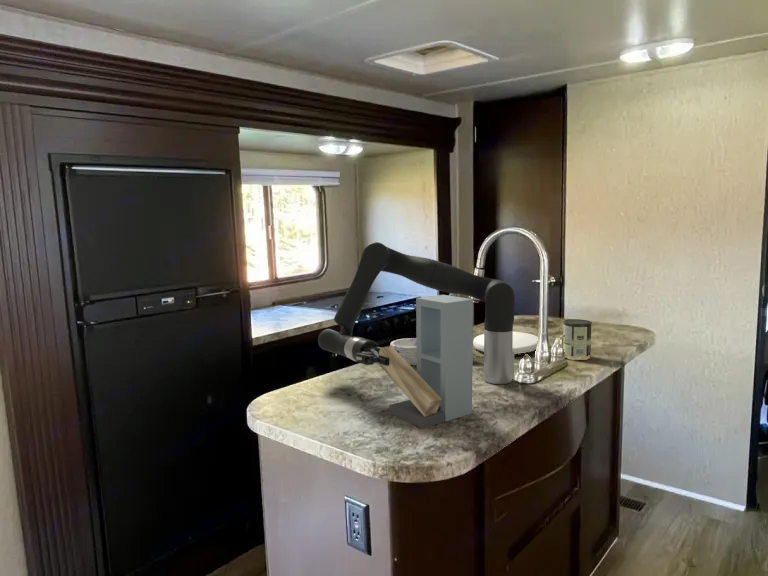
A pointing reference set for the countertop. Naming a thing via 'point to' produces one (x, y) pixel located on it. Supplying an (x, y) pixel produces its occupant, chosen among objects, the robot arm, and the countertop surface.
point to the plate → (520, 342)
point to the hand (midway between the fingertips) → (394, 360)
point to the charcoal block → (415, 414)
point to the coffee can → (577, 337)
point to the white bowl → (406, 349)
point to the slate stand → (446, 350)
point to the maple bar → (410, 382)
